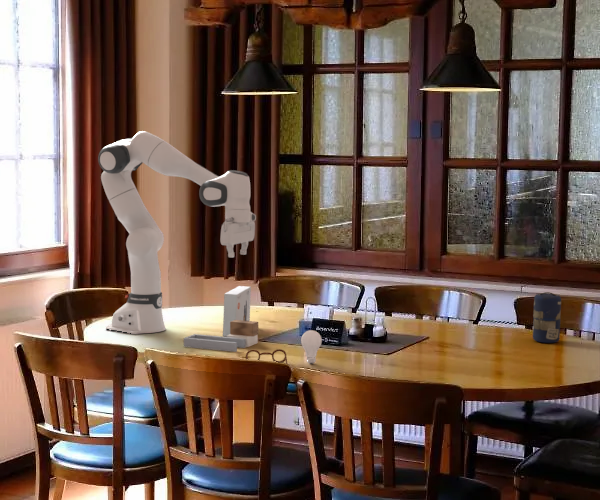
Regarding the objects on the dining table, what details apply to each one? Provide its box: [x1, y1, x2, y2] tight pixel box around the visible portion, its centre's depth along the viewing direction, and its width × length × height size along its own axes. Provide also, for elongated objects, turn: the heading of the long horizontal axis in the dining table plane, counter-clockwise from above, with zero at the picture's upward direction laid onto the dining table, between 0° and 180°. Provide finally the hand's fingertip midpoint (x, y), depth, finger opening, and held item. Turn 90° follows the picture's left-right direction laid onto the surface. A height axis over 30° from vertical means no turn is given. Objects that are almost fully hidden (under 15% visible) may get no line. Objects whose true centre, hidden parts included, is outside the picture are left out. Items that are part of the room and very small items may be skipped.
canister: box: [532, 291, 562, 344], centre depth 369 cm, size 10×10×18 cm
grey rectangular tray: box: [183, 333, 247, 353], centre depth 357 cm, size 20×8×3 cm, turn 67°
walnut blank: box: [230, 320, 259, 336], centre depth 361 cm, size 9×4×4 cm, turn 67°
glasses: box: [245, 348, 288, 365], centre depth 326 cm, size 13×13×5 cm
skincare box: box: [222, 285, 252, 337], centre depth 384 cm, size 21×6×16 cm, turn 168°
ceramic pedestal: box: [226, 334, 259, 348], centre depth 362 cm, size 8×8×4 cm
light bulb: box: [300, 329, 323, 365], centre depth 331 cm, size 7×7×11 cm
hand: (237, 255), depth 364 cm, fingers open, 8 cm apart
